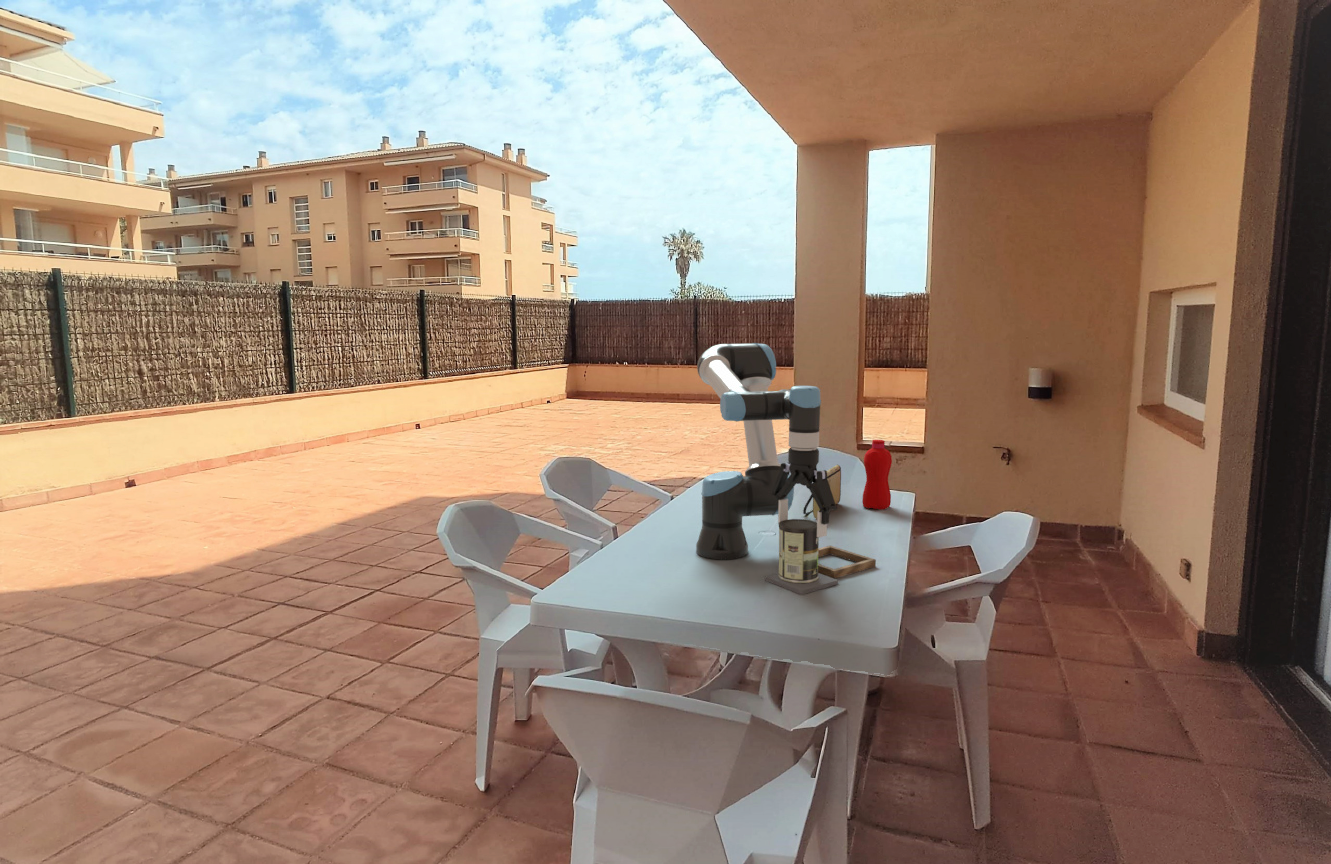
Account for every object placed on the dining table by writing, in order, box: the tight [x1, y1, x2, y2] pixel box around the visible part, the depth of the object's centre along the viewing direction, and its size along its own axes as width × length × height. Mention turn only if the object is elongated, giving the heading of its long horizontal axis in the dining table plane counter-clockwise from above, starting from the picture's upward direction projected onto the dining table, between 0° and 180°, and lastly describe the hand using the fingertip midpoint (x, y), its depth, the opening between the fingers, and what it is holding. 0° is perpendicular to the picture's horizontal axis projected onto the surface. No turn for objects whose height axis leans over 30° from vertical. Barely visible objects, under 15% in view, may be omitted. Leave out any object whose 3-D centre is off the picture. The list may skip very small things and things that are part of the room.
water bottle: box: [861, 439, 893, 511], centre depth 263 cm, size 9×11×25 cm
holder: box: [818, 545, 877, 579], centre depth 199 cm, size 16×16×2 cm
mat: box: [764, 572, 839, 595], centre depth 185 cm, size 13×13×1 cm
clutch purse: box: [802, 464, 842, 520], centre depth 258 cm, size 30×7×15 cm, turn 152°
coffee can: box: [778, 518, 820, 583], centre depth 185 cm, size 10×10×14 cm
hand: (801, 529), depth 184 cm, fingers open, 13 cm apart
